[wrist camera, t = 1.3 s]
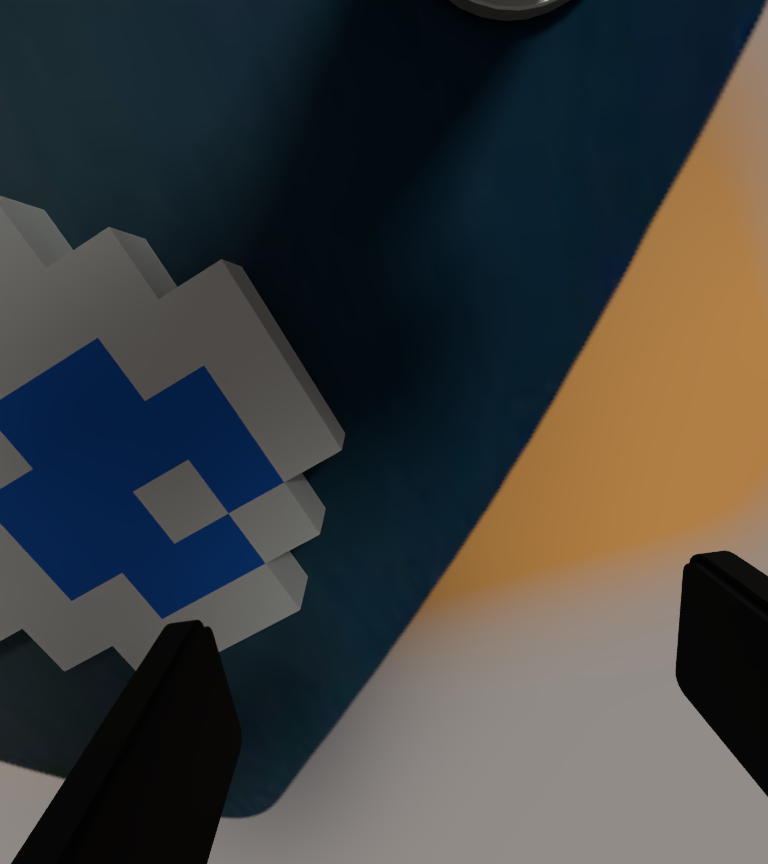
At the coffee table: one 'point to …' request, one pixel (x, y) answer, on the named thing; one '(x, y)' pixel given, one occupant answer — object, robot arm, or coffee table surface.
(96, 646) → the pixel art tile
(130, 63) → the coffee table surface
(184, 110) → the coffee table surface
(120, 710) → the robot arm
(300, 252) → the coffee table surface
